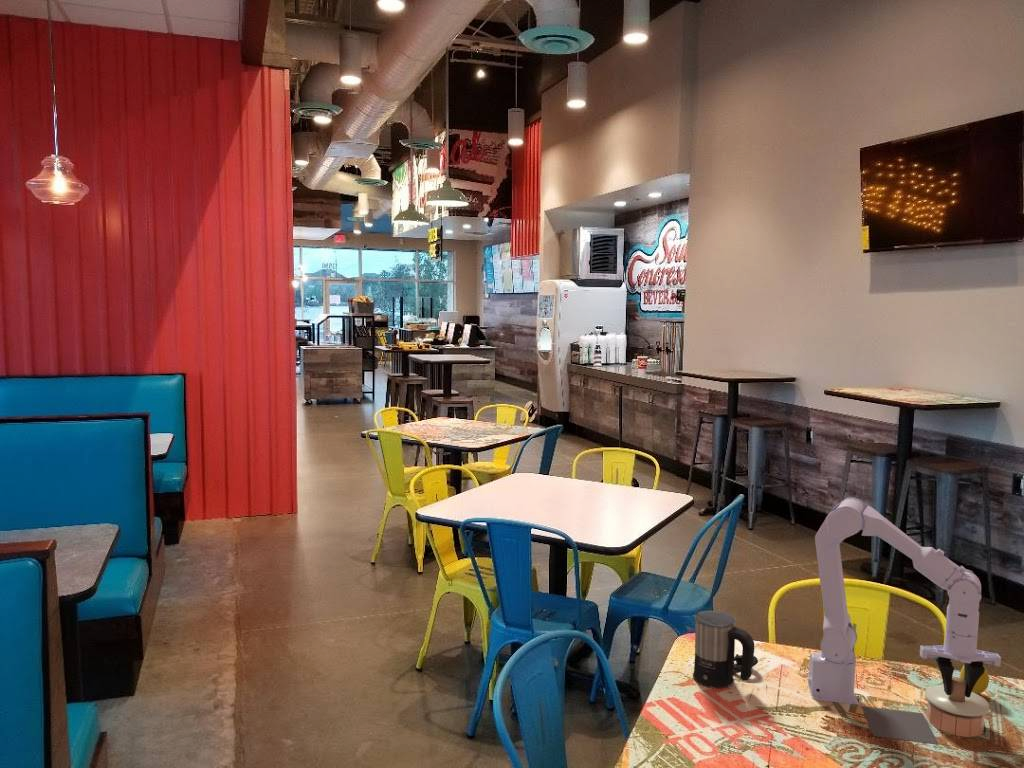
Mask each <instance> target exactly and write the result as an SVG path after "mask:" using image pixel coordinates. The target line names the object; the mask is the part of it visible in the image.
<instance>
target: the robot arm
mask: <svg viewBox="0 0 1024 768" xmlns="http://www.w3.org/2000/svg"><path fill="white" fill-rule="evenodd" d="M860 531H862V533H861V536H863V537H866V536H867V537H878V538H880V539H881V540H883V541H884V542H886V543H888V544H889V545H890V546H892V547H893V548H894V549H896V550H897V551H899V552H900V553H902V554H903V555H905V556H907V557H908V558H910V559H911V560H912V566H913V569H915V570H916V571H917V572H919V573H920V574H921V575H923V576H924V577H926V578H927V579H928V580H930V582H932V583H933V584H935V585H937V587H939V588H941V589H942V590H945V591H947V596H948V597H949V599H948V605H947V606H946V617H945V618H946V619H945V620H946V621H945V633H944V644H943V645H919V656H920V657H921V658H922V659H925V660H927V659H928V658H929V659H935V662H936V663H937V666H938V668H939V673H940V674H941V678H942V683H943V684H942V685H944V691H945V693H946V694H947V695H951V682H952V677H954V676H953V675H954V670H955V668H954V666H953V662H952V661H956V662H957V661H959V662H960V663H963V665H964V680H965V681H966V695H965V696H966V697H969V698H970V695H971V692H972V690H973V688H974V686H975V684H976V682H977V681H978V679H979V678H980V677H981V676H982V675H983V674H984V671H985V668H986V667H985V665H984V664H987V665H993V666H994V667H1001V664H1002V663H1001V662H1002V656H1000V655H999V653H996V652H989V651H985V650H979V649H977V646H978V636H979V635H978V633H979V632H978V631H979V621H980V620H979V619H980V611H979V609H980V602H981V600H982V584H981V581H980V578H979V577H978V576H977V575H976V574H975V573H974V571H972V570H970V569H966V568H965V567H964V566H963V565H958V564H957V563H955V562H953V561H952V559H951V560H950V559H949V558H948V557H946V556H945V551H943V550H942V549H941V548H938V549H935V548H934V547H933V546H921V545H920V544H918V543H917V542H916V541H915V540H913V538H911V537H910V536H909V535H907V534H906V533H905V532H903V531H902V530H901V529H900V528H899V527H897V526H896V525H895V524H893V522H891V521H890V520H888V519H887V518H886V517H884V516H883V515H882V514H881V513H880V512H878V511H877V510H876V509H875V508H874V507H872V506H870V505H866V504H865V503H864V502H863V500H861V499H859V498H856V497H848V498H844V499H843V500H842V501H840V502H838V504H836V505H835V506H833V508H832V509H831V511H830V512H829V513H828V514H827V516H826V517H825V519H824V521H823V522H822V524H821V525H820V527H819V529H818V531H817V532H816V534H815V535H814V543H815V549H816V550H815V551H816V560H817V568H818V575H819V584H820V590H821V592H820V593H821V599H822V607H823V624H822V632H823V637H822V639H821V641H820V652H812V653H810V655H809V661H808V662H809V663H808V677H807V678H808V679H807V684H808V688H809V693H810V696H811V699H812V700H817V701H823V702H824V701H826V702H832V703H840V704H841V703H842V704H850V705H856V706H857V705H859V701H858V698H857V695H856V693H855V680H856V679H855V677H856V665H857V664H856V661H857V656H856V654H855V652H854V650H853V649H854V647H855V646H854V645H856V643H857V641H858V633H857V630H856V629H855V628H854V625H853V624H852V621H851V616H850V613H849V612H848V604H847V597H846V596H847V595H846V588H845V580H844V571H843V563H842V556H841V554H842V553H841V546H840V544H841V543H842V542H843V541H844V540H845V539H847V538H849V537H852V536H854V535H855V534H857V533H859V532H860ZM984 667H985V668H984Z"/></svg>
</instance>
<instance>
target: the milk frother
mask: <svg viewBox="0 0 1024 768" xmlns="http://www.w3.org/2000/svg"><path fill="white" fill-rule="evenodd" d="M693 617H694V620H695V631H694V634H695V635H694V636H695V637H694V666H693V674H692V678H693V681H695V682H697V684H699V685H702V686H705V687H708V688H715V689H717V688H718V689H721V688H727V687H730V686H731V685H733V683H734V680H735V679H734V676H735V674H739V673H740V679H741V680H742V681H748V680H749V679H750V678H752V674H753V667H755V666H756V665H758V663H759V660H758V657H757V656H755V641H754V639H753V637H752V635H751V634H750V633H749V632H748V631H746V630H745V629H742V628H739V627H737V626H735V623H736V618H735V617H734V616H733V615H731V614H729V613H726V612H725V611H724V612H723V611H717V610H701V611H699V612H696V613H695V614H694V615H693ZM735 641H739V643H740V644H741V647H742V652H741V655H739V654H736V655H735V650H736V649H735V647H736V643H735ZM735 663H736V665H735Z"/></svg>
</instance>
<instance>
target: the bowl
mask: <svg viewBox="0 0 1024 768" xmlns="http://www.w3.org/2000/svg"><path fill="white" fill-rule="evenodd" d="M985 715H986V714H985ZM985 715H983V716H975V717H971V716H962V715H957V714H953V713H950V712H947V711H944V710H942V709H939V708H937V707H936V706H934V705H932V704H931V703H930V702H929V701H928V700H927V705H926V720H928V722H929V725H932V726H933V727H934V728H937V729H938V730H939V731H942V732H945V733H947V734H949V735H950V734H951V735H953V736H957V737H966V738H972V737H979V736H981V735H982V733H983V731H984V729H985V719H986V718H985V717H986V716H985Z"/></svg>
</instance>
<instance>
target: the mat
mask: <svg viewBox="0 0 1024 768" xmlns="http://www.w3.org/2000/svg"><path fill="white" fill-rule="evenodd" d="M861 708H862V711H863V713H864V715H865V718H866V721H867V723H868V726H869V728H870V732H871V734H872V735H873V737H878V738H886V739H893V740H901V741H910V742H916V743H923V744H931V745H940V743H939V742H938V740H937V738H936V736H935V733H934V732H933V731H932V729H931V727H930V724H929V723H928V721H927V718H926V717H925V716H924V714H923V712H914V711H905V710H899V709H898V710H897V709H890V708H883V707H874V706H864V705H861Z"/></svg>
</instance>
